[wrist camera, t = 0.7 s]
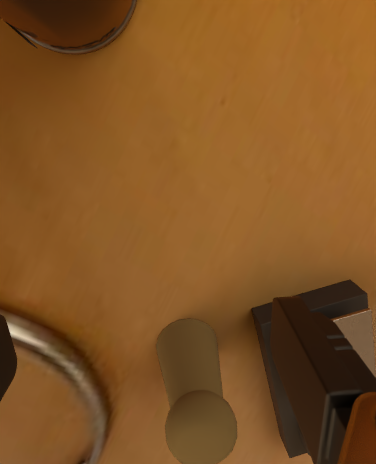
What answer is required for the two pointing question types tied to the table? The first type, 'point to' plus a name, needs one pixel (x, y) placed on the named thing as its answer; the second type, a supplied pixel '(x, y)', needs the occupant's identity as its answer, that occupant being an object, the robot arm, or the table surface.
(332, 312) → the machine
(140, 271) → the table surface
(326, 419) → the robot arm
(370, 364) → the plate
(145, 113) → the table surface
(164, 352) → the olive pawn piece
